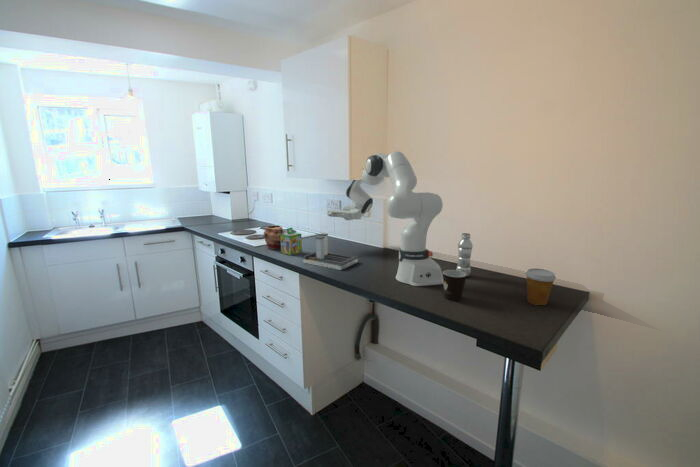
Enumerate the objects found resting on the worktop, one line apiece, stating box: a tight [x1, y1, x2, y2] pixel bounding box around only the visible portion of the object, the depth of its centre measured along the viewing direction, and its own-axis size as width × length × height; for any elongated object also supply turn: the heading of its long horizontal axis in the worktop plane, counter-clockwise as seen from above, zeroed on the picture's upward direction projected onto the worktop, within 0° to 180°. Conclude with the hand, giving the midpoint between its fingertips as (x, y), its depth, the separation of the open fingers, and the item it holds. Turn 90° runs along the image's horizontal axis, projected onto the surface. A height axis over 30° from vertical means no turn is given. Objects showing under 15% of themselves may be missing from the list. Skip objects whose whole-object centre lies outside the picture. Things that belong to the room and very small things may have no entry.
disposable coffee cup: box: [525, 268, 557, 306], centre depth 118 cm, size 10×10×12 cm
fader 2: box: [318, 232, 329, 255], centre depth 174 cm, size 3×3×12 cm
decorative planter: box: [263, 224, 285, 250], centre depth 199 cm, size 20×12×14 cm, turn 43°
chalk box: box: [280, 227, 303, 256], centre depth 186 cm, size 9×9×15 cm
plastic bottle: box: [455, 232, 474, 278], centre depth 146 cm, size 6×7×20 cm
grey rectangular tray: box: [302, 251, 359, 271], centre depth 168 cm, size 24×16×4 cm, turn 58°
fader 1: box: [314, 235, 325, 259], centre depth 166 cm, size 3×3×12 cm
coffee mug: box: [442, 269, 467, 302], centre depth 123 cm, size 12×9×10 cm
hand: (336, 215), depth 181 cm, fingers open, 8 cm apart
